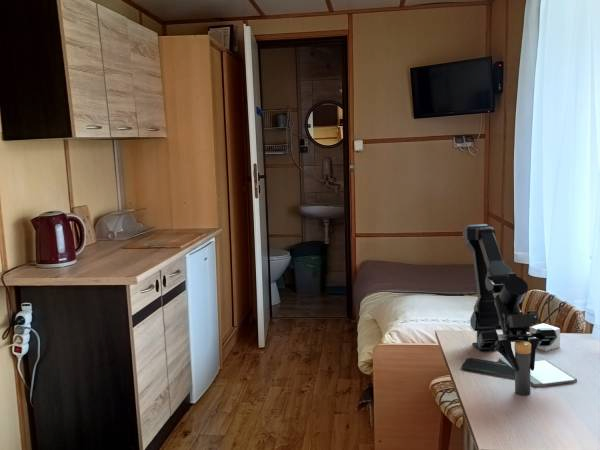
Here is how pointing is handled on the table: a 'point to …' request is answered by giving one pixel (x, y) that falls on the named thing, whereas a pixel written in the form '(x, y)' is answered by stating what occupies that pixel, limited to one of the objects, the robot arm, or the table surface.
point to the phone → (488, 368)
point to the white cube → (535, 328)
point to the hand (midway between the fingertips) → (524, 370)
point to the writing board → (545, 372)
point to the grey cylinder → (523, 368)
